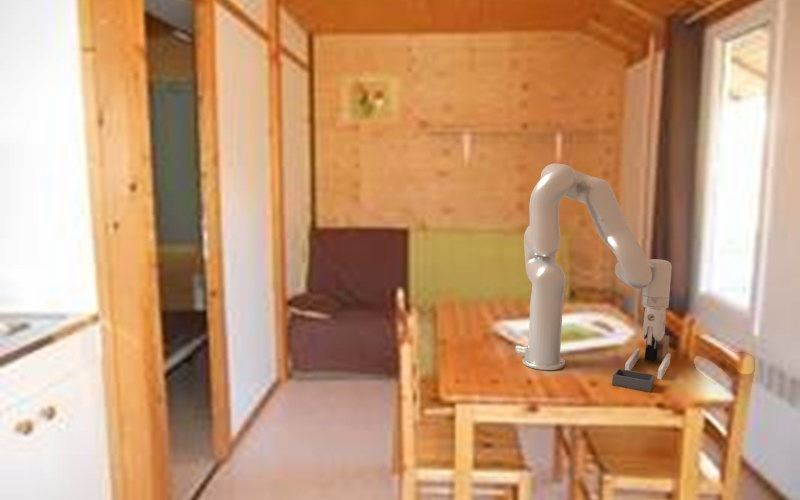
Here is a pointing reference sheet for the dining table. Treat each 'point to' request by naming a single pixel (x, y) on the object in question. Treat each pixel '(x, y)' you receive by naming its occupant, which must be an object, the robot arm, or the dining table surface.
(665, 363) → the channel
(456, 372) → the dining table surface
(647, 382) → the bin
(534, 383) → the dining table surface
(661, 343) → the walnut block
